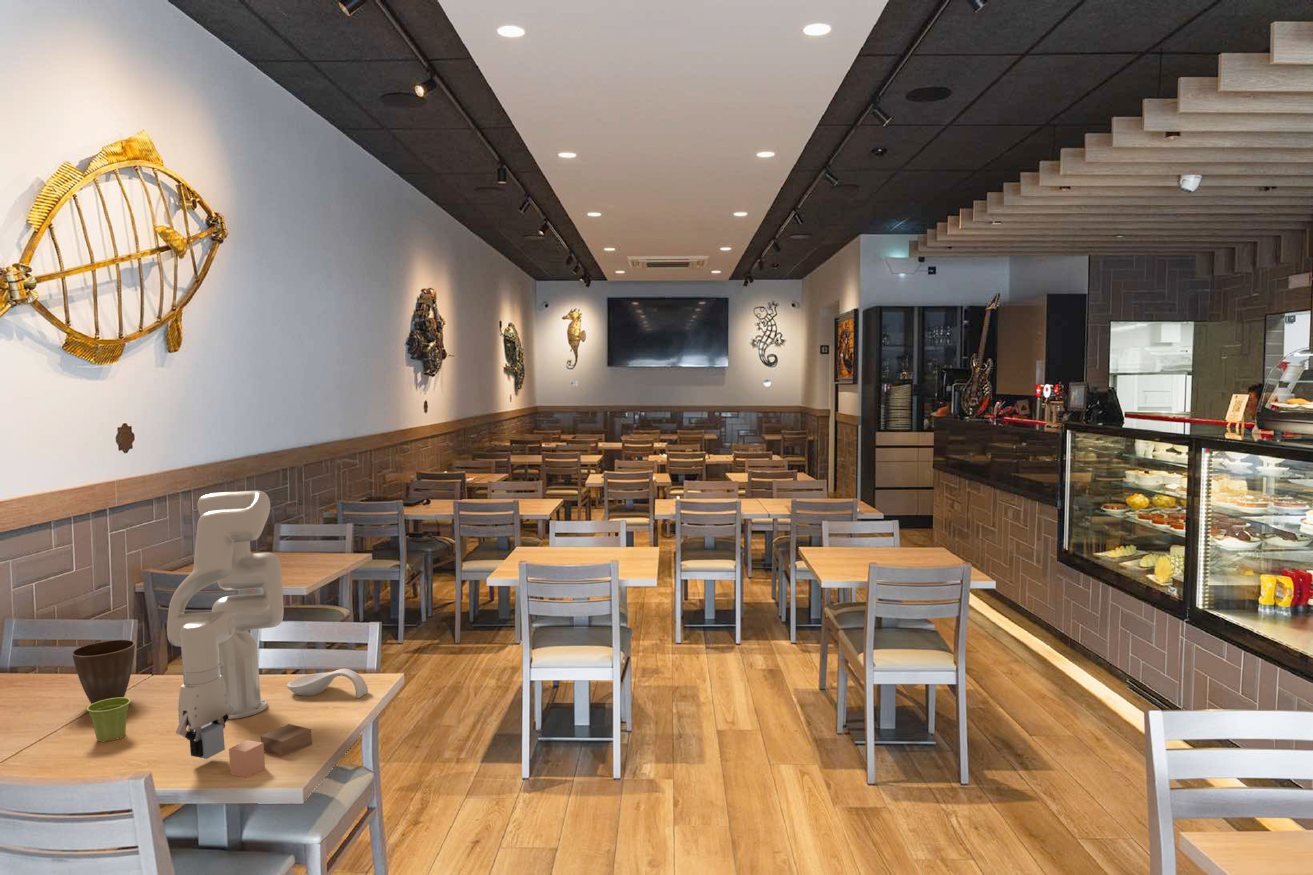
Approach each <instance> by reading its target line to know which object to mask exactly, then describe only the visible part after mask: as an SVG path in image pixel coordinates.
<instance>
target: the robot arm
mask: <svg viewBox="0 0 1313 875" xmlns="http://www.w3.org/2000/svg"><path fill="white" fill-rule="evenodd" d="M196 506H197V511H198V515H199V516H200V517H199V519H198V521H197V523H196V524H197V526H196V536H195V545H194V546H195V549H194V556H193V557H194V558H193V568H192V569H193V570H192V571H191V572H190V574H189V575H188V576H186V578H184V579H183V581H182V582H181V583H180V584H179V585H178V587H177V588H176V589H175V591H174V593H173V594H172V597H171V599H170V602H169V606H168V612H167V621H166V622H167V623H166V635H167V640H168V641H169V643H170V644H171V645H172V646H175V647H180V651H181V664H182V675H183V684H181V685H180V689H179V695H178V708H177V709H178V711H177V712H178V726H177V728H176V730H175V734H176V735H178V736H182V737H183V738H185V739H186V740H187V741H189V747H190V748H189V750H190V756H191V755H192V756H191V757H194V756H196V757H195V758H199V757H202V756H203V747H202V740H200V733H201V727H202V726H204V725H206V724H208V723H214V724H220V725H223V730H224V729H225V728H226V722H227V721H228V720H232V719H233V720H234V719H242V718H246V717H251V716H254V715H257V714H259V713H261V712H263V711H265V710H266V709H267V708H268V701H267V700H266V699H264V698H261V697H262V696H261V682H260V681H261V680H260V667H259V666H260V665H259V655H258V654H259V652H258V651H259V650H258V643H257V640H256V639H255V638H254V636H253V635H252V634H251V633H250V632H249V631H250V630H252V631H253V630H261V629H272V628H275V627H278V626H280V625H281V623H282V622H283V619H284V612H285V611H284V610H285V609H284V594H283V593H284V591H283V589H284V588H283V574H282V573H283V572H282V565H281V561H280V558H279V556H278V555H276V554H275V553H272V552H257V553H255V552H254V553H253V552H252V551H251V542H253V541H257V540H258V539H259V538H260V537H261V535H262V533H263V531H264V527H265V525H266V523H267V521H268V518H269V517H270V516H269V515H270V512H271V500H270V497H269V495H268V494H267V493H266V492H264V491H262V490H245V491H243V490H241V491H223V492H211V493H208V494H205V495H202V496H200V497H199V499H198V501H197V505H196ZM215 583H217V585H218V587H219V588H220V589H221V590H224V591H240V590H243V591H244V590H254V589H255V590H257V589H261V590H262V591H263V592H259V593H242V594H234V595H233V594H231V595H227V596H223V597H220V598H219V599H217V600H216V601H215V602H214V603H213V605H212V608H211V611H208V612H206V611H204V612H202V611H201V612H194V613H193V612H191V613H185V610H186V607H187V605H188V603H189V601H190V600H191V598H193V597H194V595H195V594H197V593H198V592H200V591H202V590H203V589H205V588H207V587H208V586H211V585H212V584H215ZM194 729H195V733H194V734H193V732H194Z"/></svg>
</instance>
